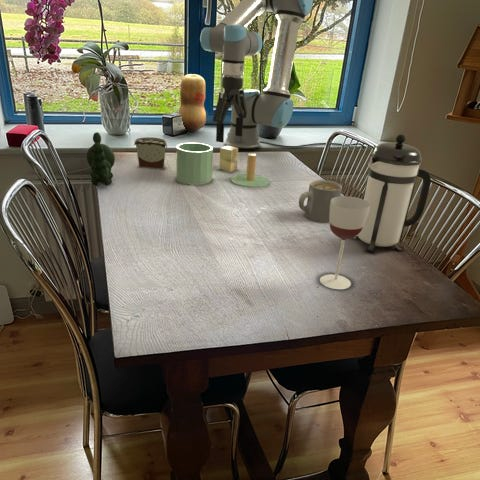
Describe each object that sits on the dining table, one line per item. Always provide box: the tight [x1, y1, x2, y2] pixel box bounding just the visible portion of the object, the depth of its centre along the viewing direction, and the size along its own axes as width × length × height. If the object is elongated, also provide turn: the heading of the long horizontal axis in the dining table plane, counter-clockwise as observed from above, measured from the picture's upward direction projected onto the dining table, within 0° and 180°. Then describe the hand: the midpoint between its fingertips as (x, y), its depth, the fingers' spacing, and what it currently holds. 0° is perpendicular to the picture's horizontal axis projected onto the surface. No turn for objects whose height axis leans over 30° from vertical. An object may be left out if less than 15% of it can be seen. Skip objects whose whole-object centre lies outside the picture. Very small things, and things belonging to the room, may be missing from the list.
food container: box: [133, 136, 168, 170], centre depth 188 cm, size 12×6×10 cm, turn 84°
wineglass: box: [319, 195, 370, 290], centre depth 115 cm, size 8×9×20 cm
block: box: [218, 145, 239, 173], centre depth 190 cm, size 5×5×8 cm
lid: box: [230, 152, 270, 188], centre depth 178 cm, size 14×14×10 cm
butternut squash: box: [177, 73, 207, 132], centre depth 236 cm, size 14×13×25 cm
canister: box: [175, 142, 214, 186], centre depth 177 cm, size 13×13×12 cm
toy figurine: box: [86, 131, 116, 186], centre depth 168 cm, size 9×19×25 cm
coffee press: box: [351, 134, 432, 254], centre depth 134 cm, size 17×16×30 cm
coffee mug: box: [298, 179, 343, 223], centre depth 154 cm, size 13×10×10 cm
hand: (229, 138), depth 186 cm, fingers open, 13 cm apart
